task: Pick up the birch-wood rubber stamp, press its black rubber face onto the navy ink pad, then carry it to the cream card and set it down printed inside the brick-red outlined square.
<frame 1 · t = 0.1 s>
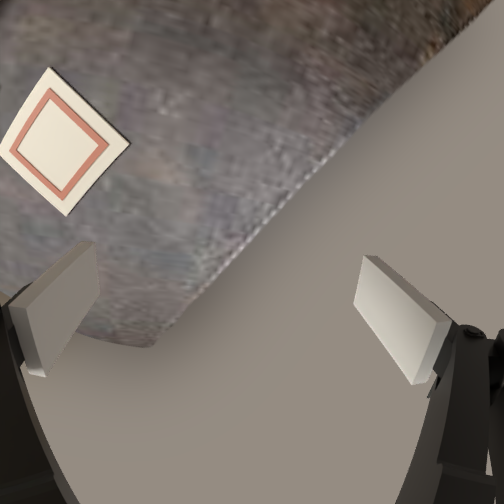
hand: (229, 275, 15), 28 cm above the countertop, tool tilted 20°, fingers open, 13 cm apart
print card: (55, 145, 36), on the countertop
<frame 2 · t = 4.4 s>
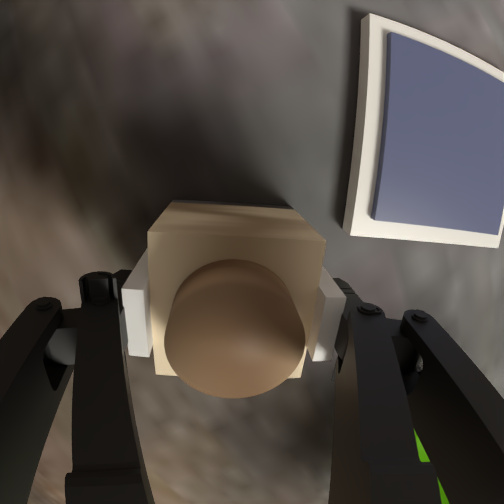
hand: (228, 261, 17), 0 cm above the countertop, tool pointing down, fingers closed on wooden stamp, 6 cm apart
ink pad: (443, 140, 16), on the countertop
wooden stamp: (228, 258, 17), on the countertop, touching gripper
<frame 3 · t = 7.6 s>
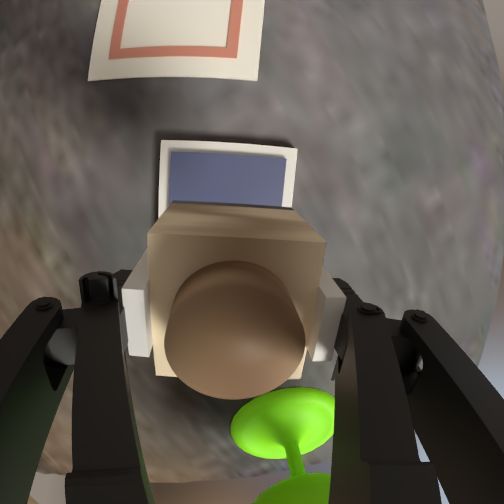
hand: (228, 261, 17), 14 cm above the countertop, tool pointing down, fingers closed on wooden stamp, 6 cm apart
wineglass: (286, 425, 41), on the countertop
print card: (178, 3, 23), on the countertop
ink pad: (224, 207, 30), on the countertop
wooden stamp: (228, 259, 17), point 14 cm above the countertop, touching gripper
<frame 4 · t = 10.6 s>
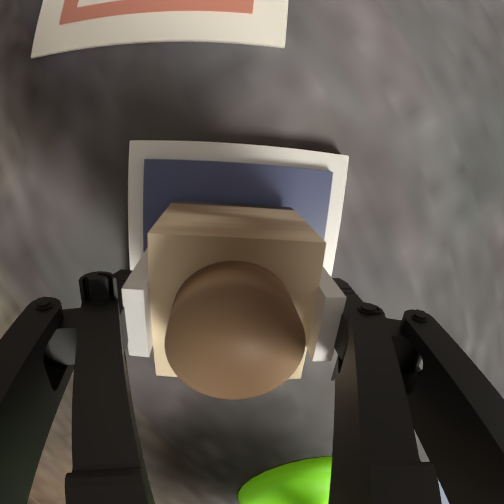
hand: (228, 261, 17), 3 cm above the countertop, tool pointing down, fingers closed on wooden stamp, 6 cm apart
wineglass: (304, 489, 30), on the countertop
ink pad: (232, 245, 19), on the countertop
wooden stamp: (228, 259, 17), point 2 cm above the countertop, touching gripper
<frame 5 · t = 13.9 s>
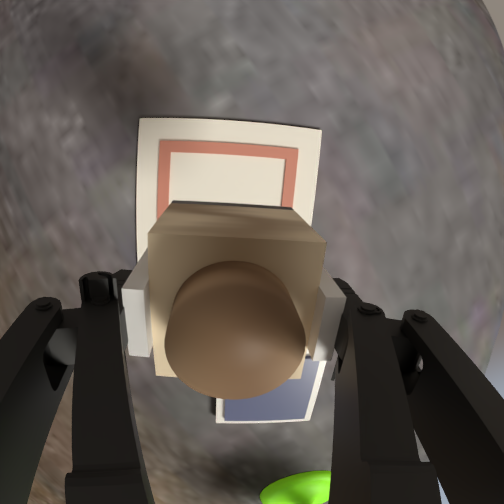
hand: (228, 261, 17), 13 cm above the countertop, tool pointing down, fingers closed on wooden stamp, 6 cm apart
wineglass: (302, 490, 47), on the countertop
print card: (224, 210, 29), on the countertop
ink pad: (267, 383, 36), on the countertop
wooden stamp: (228, 259, 17), point 12 cm above the countertop, touching gripper
when the fingers open (1 cm above the countertop, at t = 16.7 s): wooden stamp stays where it is, resting on print card.
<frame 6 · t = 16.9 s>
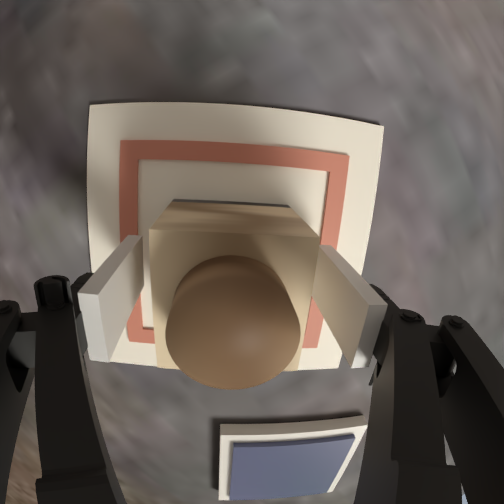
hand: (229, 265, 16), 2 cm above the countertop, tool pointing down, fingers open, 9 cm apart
print card: (228, 253, 18), on the countertop
ink pad: (284, 461, 25), on the countertop
wooden stamp: (227, 255, 18), resting on print card
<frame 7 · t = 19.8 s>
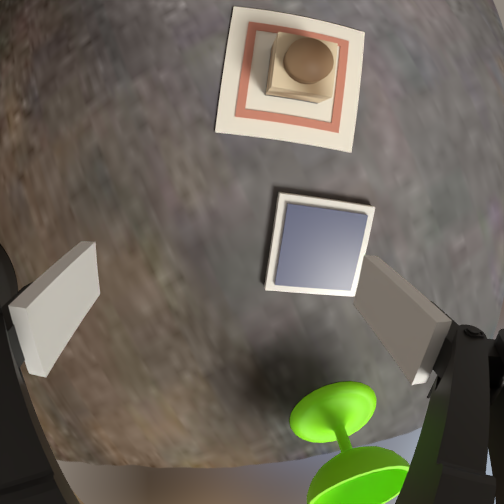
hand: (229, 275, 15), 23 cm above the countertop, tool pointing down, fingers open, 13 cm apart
wineglass: (333, 413, 51), on the countertop
print card: (294, 75, 33), on the countertop
ink pad: (318, 245, 40), on the countertop
wooden stamp: (294, 75, 33), resting on print card
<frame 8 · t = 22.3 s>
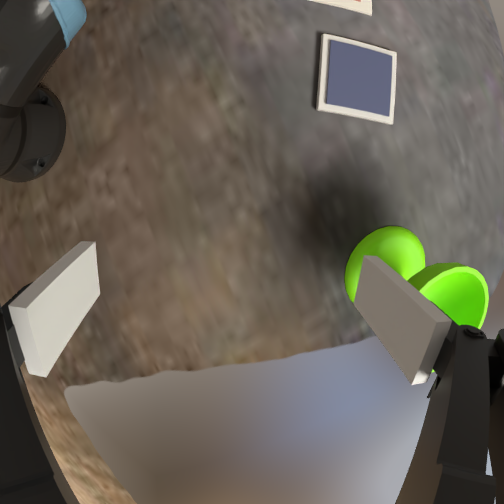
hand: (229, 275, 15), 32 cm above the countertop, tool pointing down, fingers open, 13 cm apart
wineglass: (386, 271, 52), on the countertop
ink pad: (357, 79, 41), on the countertop
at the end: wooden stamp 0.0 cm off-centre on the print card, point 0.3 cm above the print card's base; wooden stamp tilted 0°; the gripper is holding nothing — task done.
